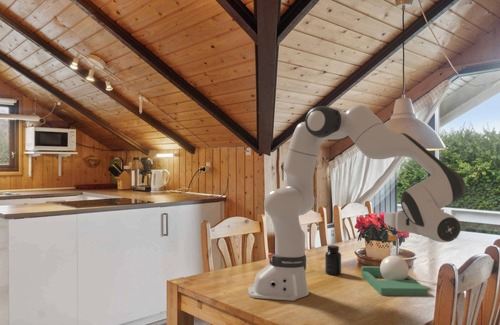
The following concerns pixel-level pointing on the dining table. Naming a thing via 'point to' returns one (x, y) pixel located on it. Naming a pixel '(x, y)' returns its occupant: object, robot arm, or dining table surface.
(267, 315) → the dining table surface
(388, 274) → the ball
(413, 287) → the putting mat
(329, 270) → the supplement bottle
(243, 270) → the dining table surface
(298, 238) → the robot arm
